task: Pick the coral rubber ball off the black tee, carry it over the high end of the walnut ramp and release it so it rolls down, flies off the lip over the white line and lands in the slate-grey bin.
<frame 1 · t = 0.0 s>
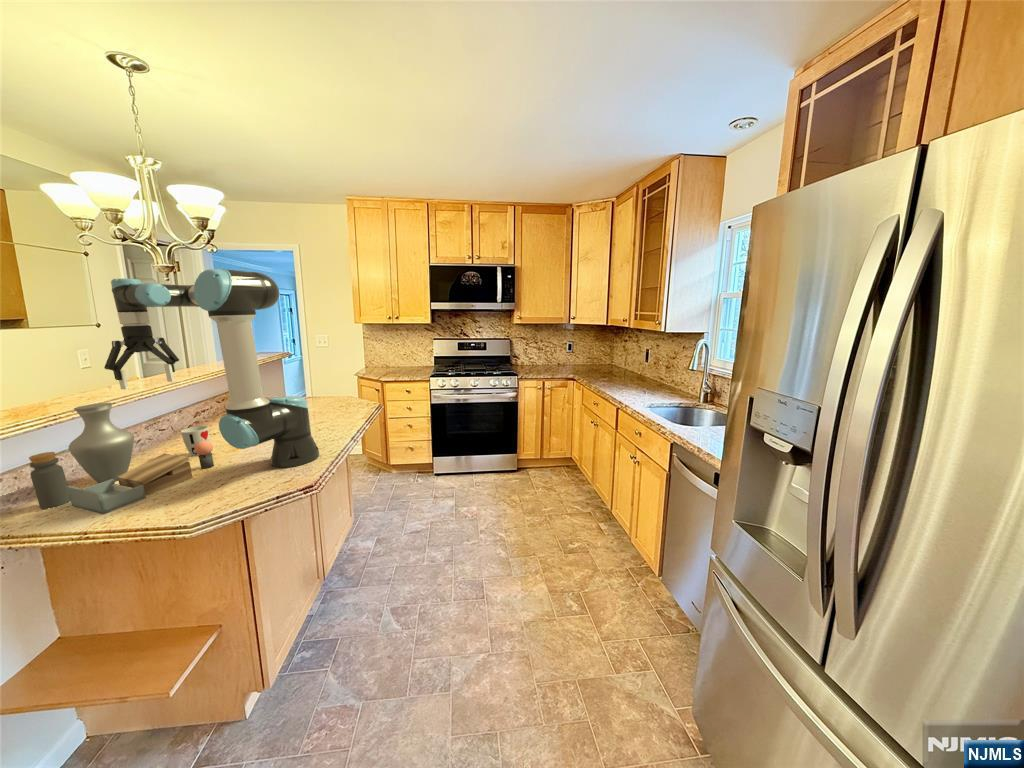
hand: (149, 385, 136), 28 cm above the worktop, fingers open, 13 cm apart
bottle: (56, 504, 109), on the worktop
ball: (205, 454, 132), point 5 cm above the worktop, touching tee
bin: (109, 502, 109), on the worktop
cup: (199, 454, 146), on the worktop
vase: (112, 479, 125), on the worktop
tee: (207, 467, 133), on the worktop
ramp: (158, 484, 120), on the worktop
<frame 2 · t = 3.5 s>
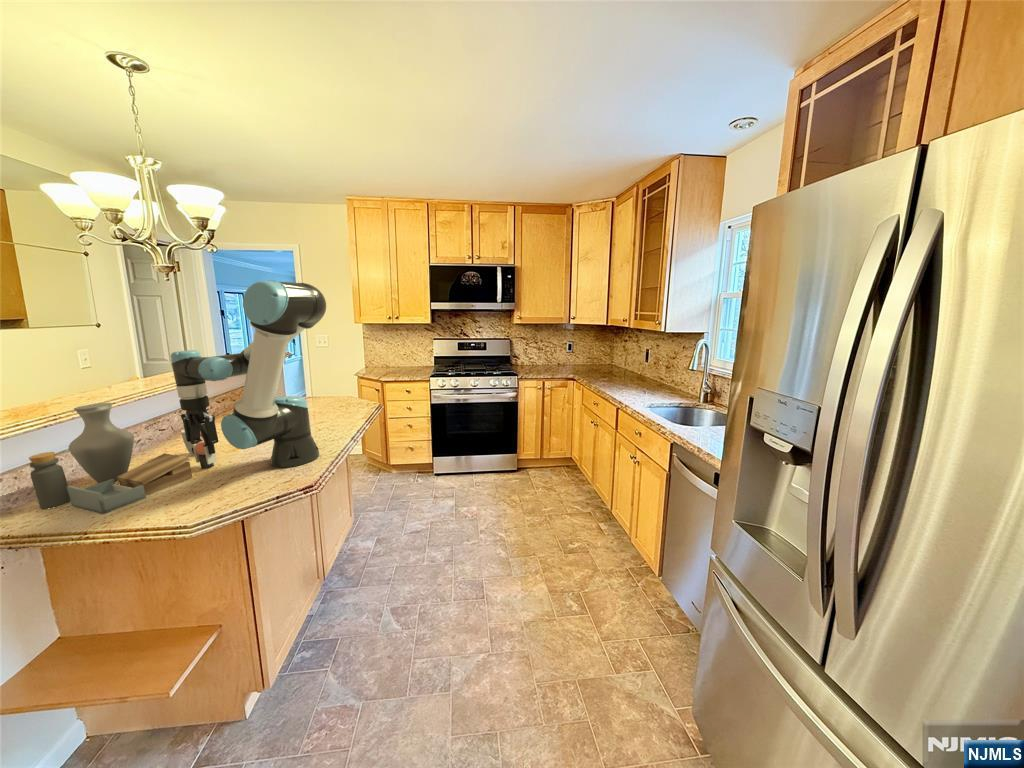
hand: (206, 461, 132), 2 cm above the worktop, fingers closed on ball, 5 cm apart
ball: (205, 454, 132), point 5 cm above the worktop, touching gripper, tee
everything else where it was.
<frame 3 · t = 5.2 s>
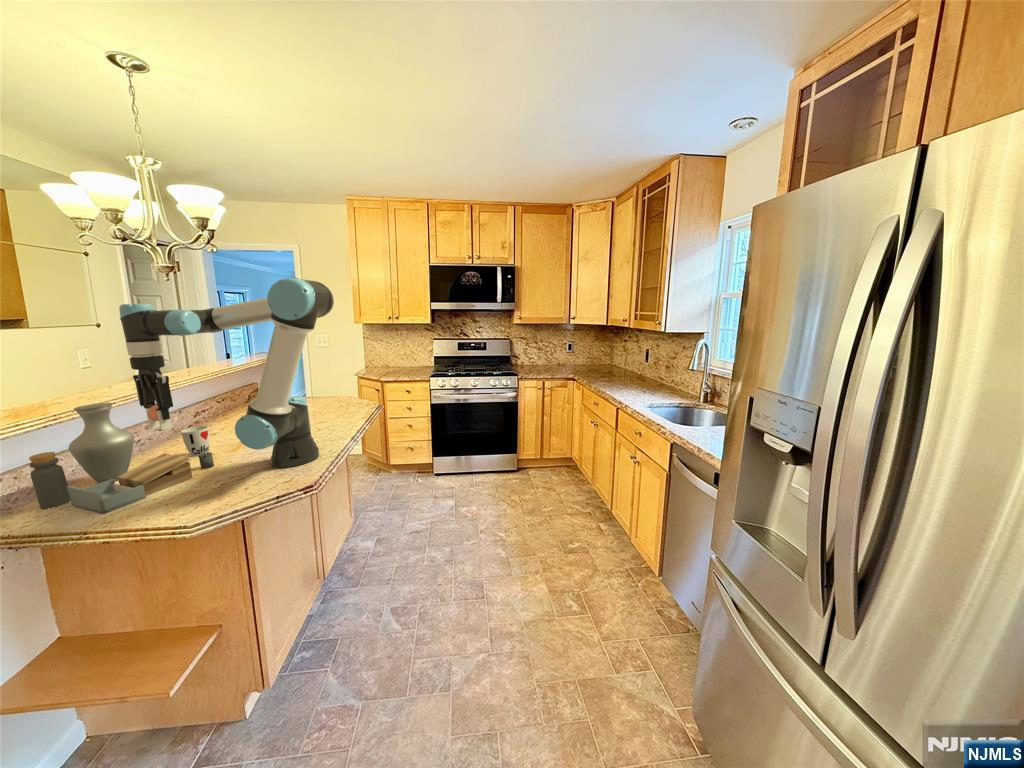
hand: (161, 428, 121), 17 cm above the worktop, fingers closed on ball, 5 cm apart
ball: (159, 420, 120), point 20 cm above the worktop, touching gripper
everything else where it was.
when the fingers open (9 cm above the worktop, at t = 6.8 s): ball drops 10 cm and tips over, resting on bin.
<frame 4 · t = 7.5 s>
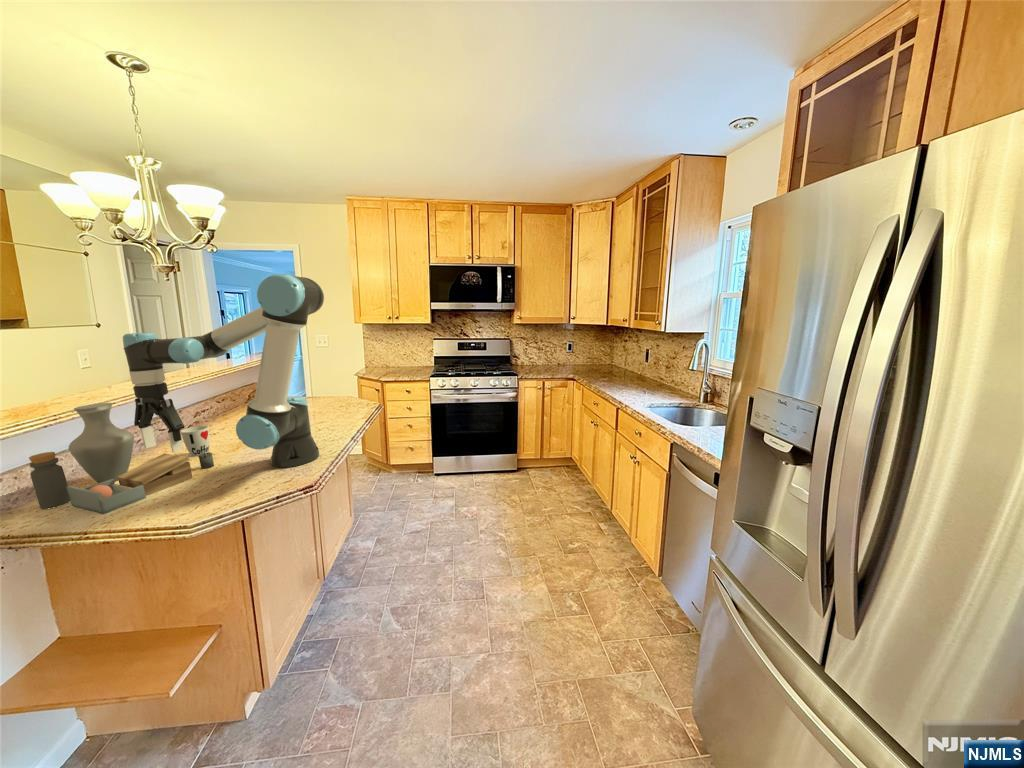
hand: (164, 448, 121), 10 cm above the worktop, fingers open, 13 cm apart
ball: (109, 496, 109), point 2 cm above the worktop, tilted 45°, touching bin
everything else where it was.
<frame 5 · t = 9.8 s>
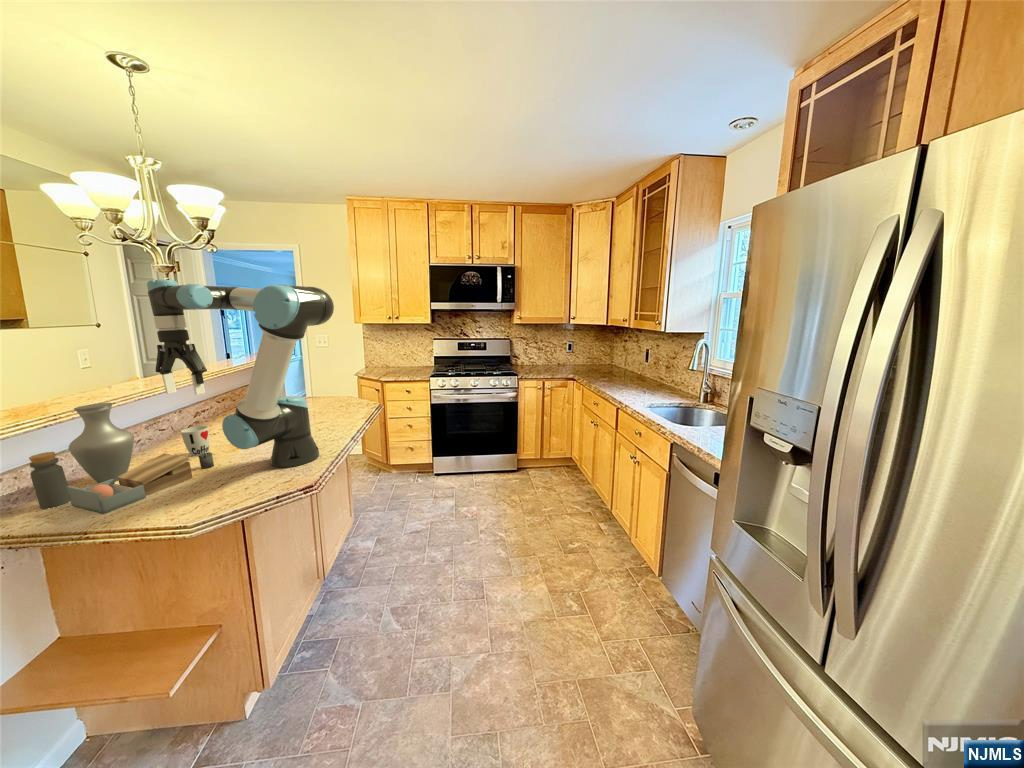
hand: (185, 393, 127), 26 cm above the worktop, fingers open, 13 cm apart
ball: (109, 497, 109), point 1 cm above the worktop, tilted 39°, touching bin
everything else where it was.
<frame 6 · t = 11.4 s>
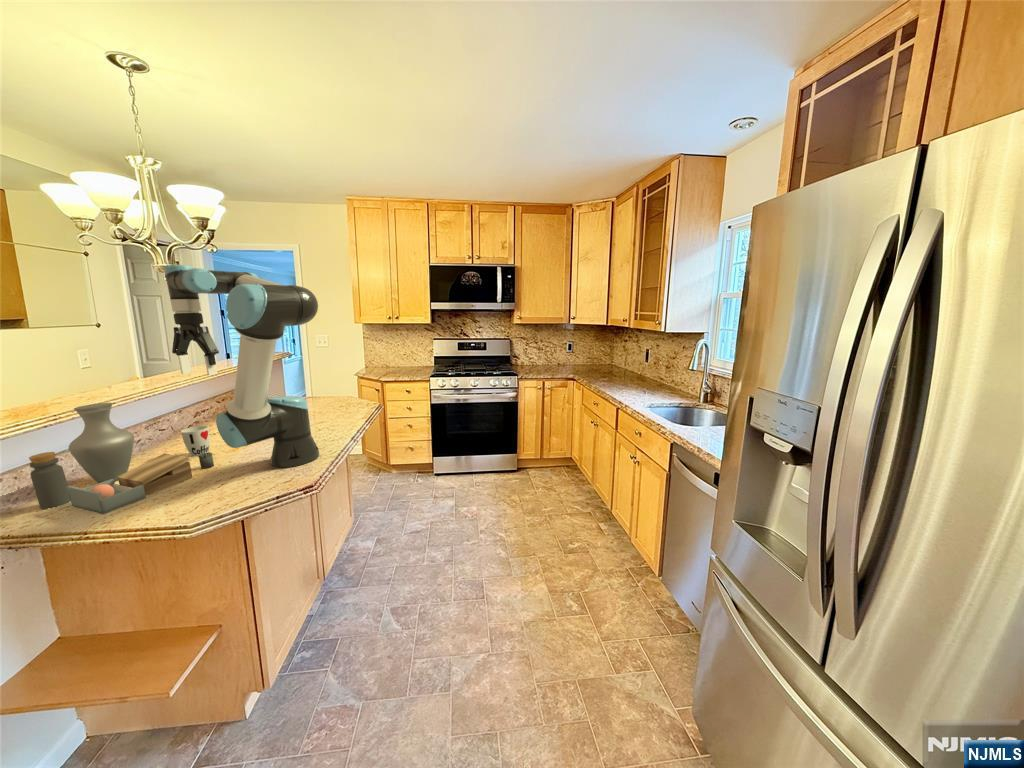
hand: (199, 374, 134), 32 cm above the worktop, fingers open, 13 cm apart
nothing on the worktop moved.
at the end: ball inside the target area on the bin (0.2 cm from its centre), point 1.2 cm above the bin's base; the gripper is holding nothing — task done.
